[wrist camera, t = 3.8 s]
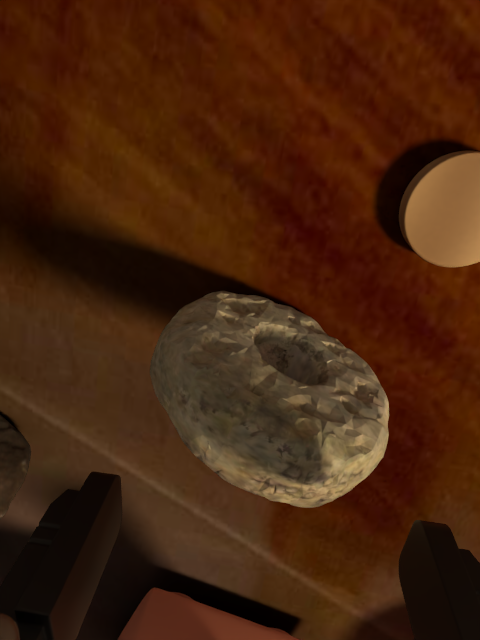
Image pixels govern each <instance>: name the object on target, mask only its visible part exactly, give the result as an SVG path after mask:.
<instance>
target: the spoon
mask: <svg viewBox="0 0 480 640" xmlns="http://www.w3.org/2000/svg"><path fill="white" fill-rule="evenodd" d="M399 225H400V229H401V232H402V235H403V237H404V239H405V241H406V242H407V244H408V245H409V246H410V247H411V248H412V249H413V250H414V251H415V253H417V254H418V255H419V256H420V257H421V258H423V259H424V260H426V261H428V262H430V263H432V264H435V265H438V266H443V267H462V266H467V265H471V264H474V263H477V262H480V152H478V151H458V152H453V153H449V154H447V155H444V156H441V157H439V158H437V159H435V160H434V161H432V162H431V163H429V164H428V165H426V166H425V167H424V168H423V169H421V170H420V171H419V172H418V173H417V174H416V175H415V177H414V178H413V179H412V181H411V182H410V183H409V185H408V187H407V188H406V190H405V192H404V195H403V197H402V200H401V203H400V209H399Z"/></svg>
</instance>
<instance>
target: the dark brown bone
mask: <svg viewBox="0 0 480 640" xmlns="http://www.w3.org/2000/svg"><path fill="white" fill-rule="evenodd" d="M30 456H31V449H30V445H29V443H28V442H27V441H26V439H25V438H24V436H23V435H22V434H21V433H20V432H19V431H18V430H17V429H16V428H15V427H13V426H12V425H11V424H10V423H9V422H8V421H7V420H6V419H5V418H4V417H2V416H1V415H0V519H1V518H2V517H3V516H4V515H5V514H6V512H7V510H8V508H9V505H10V503H11V501H12V500H13V498H14V497H15V495H16V493H17V492H18V490H19V489H20V488H21V486H22V484H23V482H24V480H25V477H26V474H27V471H28V467H29V461H30Z"/></svg>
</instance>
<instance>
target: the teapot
mask: <svg viewBox="0 0 480 640" xmlns="http://www.w3.org/2000/svg"><path fill="white" fill-rule="evenodd" d="M118 640H300V639H298V638H295V637H292V636H291V635H290V634H288V633H287V632H285V631H283V630H281V629H277V628H268V627H265V626H263V625H260V624H257V623H254V622H252V621H249V620H246V619H244V618H241V617H238V616H235V615H233V614H230V613H227V612H224V611H221V610H219V609H216V608H213V607H210V606H207V605H205V604H202V603H199V602H196V601H194V600H193V599H192V598H191V597H189V596H187V595H185V594H182V593H178V592H168V591H165V590H162V589H159V588H155V587H154V588H152V589H151V590H150V591H149V592H148V593H147V594H146V596H145V597H144V598H143V600H142V601H141V603H140V604H139V606H138V607H137V609H136V610H135V612H134V613H133V615H132V617H131V618H130V620H129V621H128V623H127V625H126V626H125V628H124V629H123V631H122V633H121V634H120V636H119V638H118Z"/></svg>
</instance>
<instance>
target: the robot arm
mask: <svg viewBox="0 0 480 640" xmlns="http://www.w3.org/2000/svg"><path fill="white" fill-rule="evenodd" d="M121 520H122V496H121V478H120V476H119V475H113V474H107V473H100V472H91V473H90V474H89V476H88V478H87V479H86V481H85V483H84V485H83V486H82V488H81V490H80V491H76V490H69V489H68V490H67V491H65V492H64V493H63V494H62V495H61V496H60V497H58V498H57V499H56V500H55V501H54V502H53V503H51V504H50V506H49V508H48V509H47V511H46V513H45V514H44V516H43V518H42V519H41V521H40V522H39V526H38V527H36V529H35V531H34V532H33V534H32V536H31V537H30V540H29V542H27V544H26V545H25V547H24V549H23V550H22V552H21V554H20V555H19V557H18V558H17V560H16V562H15V563H14V565H13V567H12V568H11V570H10V572H9V573H8V575H7V576H6V578H5V580H4V581H3V583H2V585H1V586H0V640H76V638H77V635H78V633H79V630H80V628H81V625H82V623H83V620H84V618H85V615H86V613H87V610H88V608H89V606H90V603H91V601H92V598H93V596H94V593H95V591H96V588H97V586H98V583H99V581H100V578H101V576H102V573H103V571H104V568H105V566H106V563H107V561H108V558H109V556H110V553H111V551H112V549H113V546H114V544H115V541H116V539H117V536H118V533H119V529H120V525H121ZM399 578H400V583H401V587H402V591H403V595H404V599H405V603H406V607H407V611H408V615H409V619H410V623H411V627H412V631H413V635H414V639H415V640H480V563H479V562H478V561H477V559H476V558H475V557H474V556H473V555H472V553H471V552H470V551H469V550H464V549H458V546H457V544H456V541H455V539H454V536H453V534H452V532H451V530H450V528H449V527H448V526H447V525H446V524H441V523H434V522H427V521H420V520H416V521H415V522H414V523H413V525H412V528H411V530H410V533H409V535H408V538H407V540H406V543H405V545H404V547H403V550H402V552H401V555H400V559H399Z"/></svg>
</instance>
